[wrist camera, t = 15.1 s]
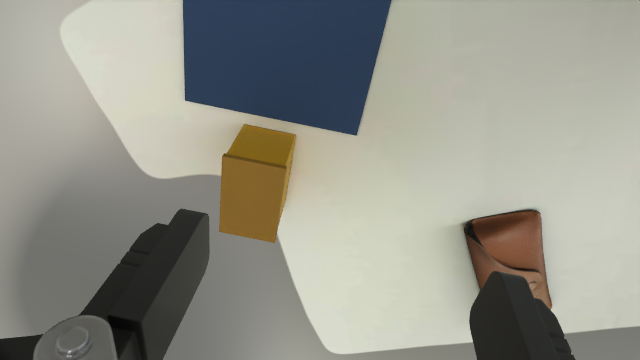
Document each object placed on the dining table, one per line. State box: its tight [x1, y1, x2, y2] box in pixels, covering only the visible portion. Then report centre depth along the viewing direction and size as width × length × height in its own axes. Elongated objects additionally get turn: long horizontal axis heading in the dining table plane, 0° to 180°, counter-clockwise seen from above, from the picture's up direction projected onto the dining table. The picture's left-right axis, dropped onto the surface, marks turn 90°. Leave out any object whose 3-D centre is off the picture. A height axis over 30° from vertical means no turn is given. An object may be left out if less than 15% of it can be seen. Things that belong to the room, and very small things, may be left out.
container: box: [219, 124, 296, 243], centre depth 41 cm, size 6×9×7 cm, turn 170°
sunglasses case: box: [464, 210, 552, 310], centre depth 48 cm, size 18×7×7 cm
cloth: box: [183, 0, 391, 135], centre depth 37 cm, size 18×14×1 cm
